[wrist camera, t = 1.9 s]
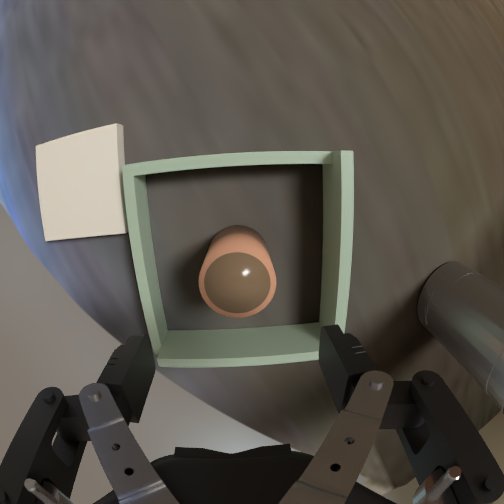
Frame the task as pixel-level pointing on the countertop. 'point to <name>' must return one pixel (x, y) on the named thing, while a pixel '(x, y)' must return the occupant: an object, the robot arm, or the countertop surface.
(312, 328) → the frame
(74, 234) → the cream tile
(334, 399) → the robot arm
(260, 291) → the terracotta pot
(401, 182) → the countertop surface
